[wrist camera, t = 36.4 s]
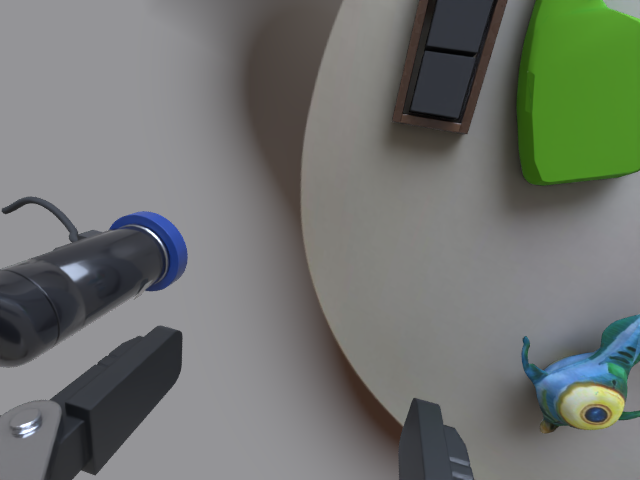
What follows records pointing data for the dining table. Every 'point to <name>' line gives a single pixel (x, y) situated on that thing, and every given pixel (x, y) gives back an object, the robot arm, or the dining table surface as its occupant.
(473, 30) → the pad
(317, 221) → the dining table surface
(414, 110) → the pad
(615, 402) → the decorative fish
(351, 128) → the dining table surface
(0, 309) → the robot arm
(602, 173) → the spray bottle
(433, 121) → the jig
